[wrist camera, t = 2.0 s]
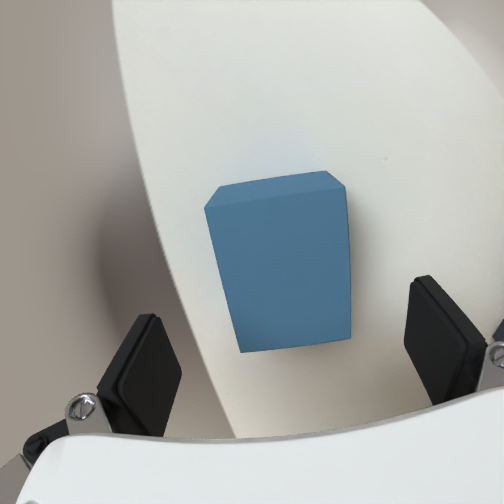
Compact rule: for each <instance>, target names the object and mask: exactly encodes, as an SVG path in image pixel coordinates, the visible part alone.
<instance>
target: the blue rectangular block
mask: <svg viewBox="0 0 504 504" xmlns="http://www.w3.org/2000/svg"><path fill="white" fill-rule="evenodd" d="M204 210H205V214H206V218H207V223H208V227H209V231H210V236H211V240H212V244H213V248H214V252H215V256H216V260H217V264H218V269H219V273H220V277H221V281H222V285H223V288H224V292H225V296H226V300H227V304H228V308H229V312H230V316H231V319H232V323H233V327H234V331H235V334H236V338H237V342H238V345H239V349H240V352H241V353H245V352H255V351H265V350H274V349H283V348H291V347H299V346H306V345H313V344H320V343H327V342H333V341H339V340H345V339H350V338H351V272H350V247H349V229H348V214H347V202H346V191H345V186H344V185H343V184H342V183H340V182H339V181H338V180H337V179H336V178H334V177H333V176H332V175H331V174H330V173H328V172H327V171H319V172H311V173H303V174H296V175H289V176H282V177H275V178H268V179H262V180H256V181H250V182H243V183H238V184H232V185H226V186H221V187H219V188H218V189H217V191H216V192H215V193H214V195H213V196H212V197H211V199H210V200H209V201H208V203H207V204H206V205H205V207H204Z"/></svg>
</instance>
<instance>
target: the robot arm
mask: <svg viewBox="0 0 504 504" xmlns="http://www.w3.org/2000/svg"><path fill="white" fill-rule="evenodd" d="M404 346H405V349H406V351H407V353H408V354H409V356H410V358H411V360H412V362H413V364H414V366H415V368H416V370H417V372H418V374H419V376H420V378H421V381H422V383H423V385H424V387H425V389H426V391H427V393H428V395H429V397H430V400H431V402H432V404H433V406H432V407H428V408H425V409H421V410H418V411H414V412H411V413H407V414H403V415H400V416H396V417H392V418H388V419H384V420H379V421H375V422H370V423H366V424H361V425H356V426H351V427H345V428H339V429H333V430H327V431H320V432H313V433H306V434H297V435H287V436H276V437H263V438H243V439H184V438H167V437H163V435H164V432H165V428H166V425H167V422H168V419H169V415H170V412H171V409H172V405H173V402H174V398H175V396H176V392H177V389H178V386H179V383H180V380H181V375H182V371H181V367H180V365H179V363H178V360H177V358H176V356H175V353H174V351H173V348H172V346H171V343H170V341H169V339H168V336H167V334H166V331H165V329H164V326H163V323H162V321H161V319H160V317H156V315H155V314H141V315H139V316H138V318H137V319H136V321H135V322H134V324H133V326H132V327H131V329H130V331H129V332H128V334H127V336H126V338H125V339H124V341H123V343H122V344H121V346H120V348H119V349H118V351H117V353H116V354H115V356H114V358H113V360H112V361H111V363H110V365H109V367H108V368H107V370H106V372H105V373H104V375H103V377H102V379H101V381H100V383H99V384H98V386H97V389H98V392H97V394H96V395H95V394H93V393H82V394H79V395H77V396H75V397H74V398H73V399H71V400H70V401H69V403H68V404H67V406H66V408H65V419H63V420H61V421H60V422H58V423H56V424H54V425H52V426H50V427H48V428H46V429H44V430H42V431H40V432H38V433H36V434H34V435H32V436H30V437H29V438H28V439H27V441H26V442H25V444H24V447H23V455H21V454H18V455H16V456H15V457H14V458H13V459H12V460H10V461H9V462H8V463H7V464H6V465H4V466H3V467H2V468H1V469H0V504H504V342H501V341H499V342H494V343H492V344H490V345H488V344H487V343H486V342H485V338H484V337H483V336H482V334H481V333H480V332H479V331H478V329H477V328H476V327H475V326H474V324H473V323H472V322H471V321H470V320H469V318H468V317H467V316H466V315H465V314H464V313H463V311H462V310H461V309H460V308H459V307H458V306H457V304H456V303H455V302H454V301H453V300H452V299H451V298H450V296H449V295H448V294H447V293H446V292H445V291H444V290H443V289H442V288H441V286H440V285H439V284H438V283H437V282H436V281H435V280H434V279H433V278H432V277H431V276H430V275H426V276H421V277H416V278H415V279H414V282H412V283H411V284H410V292H409V302H408V311H407V320H406V328H405V335H404Z"/></svg>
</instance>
